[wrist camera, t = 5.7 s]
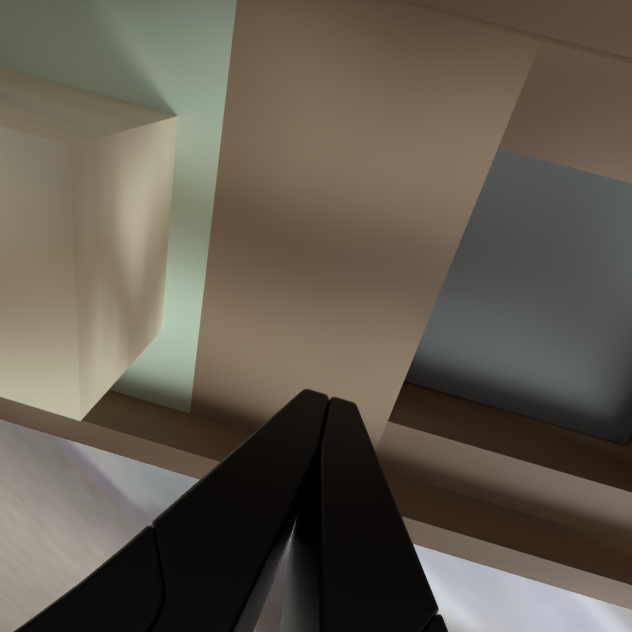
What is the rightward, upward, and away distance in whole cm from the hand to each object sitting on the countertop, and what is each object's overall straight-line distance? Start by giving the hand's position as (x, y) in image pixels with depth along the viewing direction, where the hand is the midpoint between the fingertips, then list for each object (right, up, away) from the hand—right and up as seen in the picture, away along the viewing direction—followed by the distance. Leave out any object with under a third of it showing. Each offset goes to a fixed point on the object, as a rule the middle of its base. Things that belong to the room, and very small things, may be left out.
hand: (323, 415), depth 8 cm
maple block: (-7, +5, +5) cm, 10 cm away
